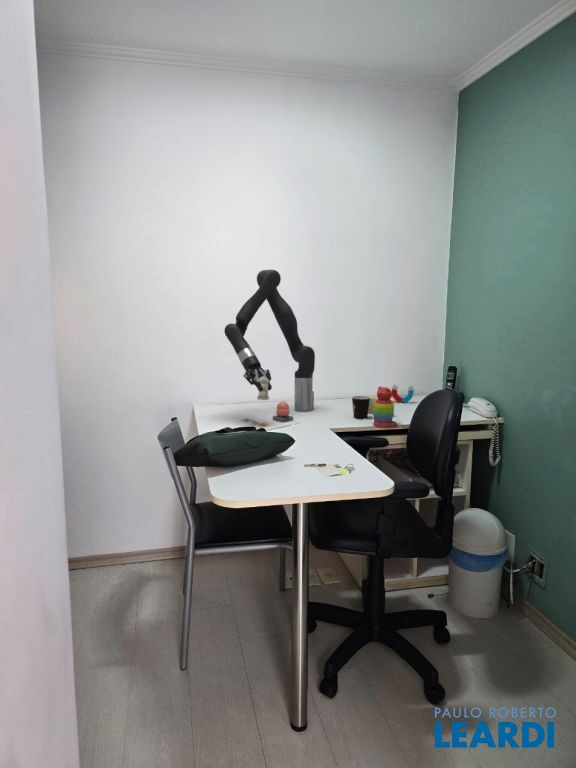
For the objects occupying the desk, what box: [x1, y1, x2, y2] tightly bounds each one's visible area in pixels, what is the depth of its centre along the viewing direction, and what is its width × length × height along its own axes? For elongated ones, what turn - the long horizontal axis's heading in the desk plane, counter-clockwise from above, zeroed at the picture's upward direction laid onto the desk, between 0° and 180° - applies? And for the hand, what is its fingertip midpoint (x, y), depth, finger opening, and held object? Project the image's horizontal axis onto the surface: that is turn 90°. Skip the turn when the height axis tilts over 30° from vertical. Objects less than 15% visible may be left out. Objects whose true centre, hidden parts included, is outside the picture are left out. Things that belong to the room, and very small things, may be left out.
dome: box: [276, 401, 290, 416], centre depth 260 cm, size 6×6×6 cm
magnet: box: [391, 383, 415, 404], centre depth 306 cm, size 12×3×10 cm, turn 74°
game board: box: [238, 414, 299, 432], centre depth 258 cm, size 26×22×3 cm
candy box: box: [368, 396, 395, 417], centre depth 277 cm, size 16×2×8 cm, turn 54°
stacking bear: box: [372, 386, 399, 429], centre depth 254 cm, size 11×10×18 cm
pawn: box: [256, 377, 270, 401], centre depth 249 cm, size 6×6×10 cm
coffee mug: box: [351, 395, 370, 420], centre depth 271 cm, size 12×9×10 cm
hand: (266, 389), depth 248 cm, fingers closed on pawn, 4 cm apart
